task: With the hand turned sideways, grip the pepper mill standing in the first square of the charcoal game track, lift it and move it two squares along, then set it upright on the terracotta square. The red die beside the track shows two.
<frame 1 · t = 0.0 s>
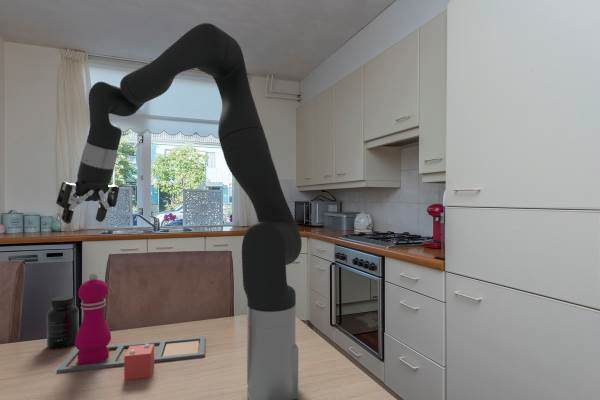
hand: (83, 221, 90), 31 cm above the table, tool tilted 20°, fingers open, 8 cm apart
pepper mill: (93, 359, 81), resting in game track
game track: (138, 353, 83), on the table
die: (139, 373, 74), on the table
supplement bottle: (63, 344, 89), on the table
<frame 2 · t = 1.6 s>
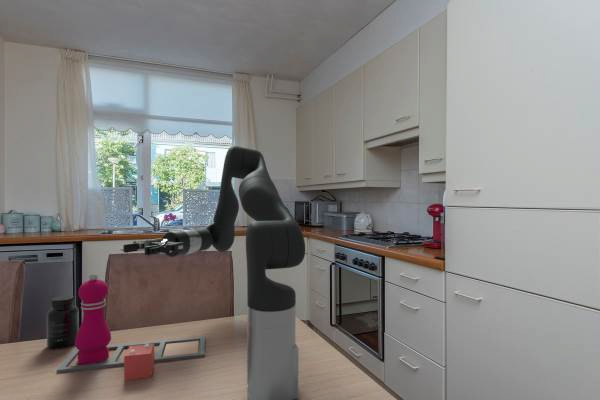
hand: (134, 249, 90), 24 cm above the table, tool horizontal, fingers open, 8 cm apart
nothing on the table moved.
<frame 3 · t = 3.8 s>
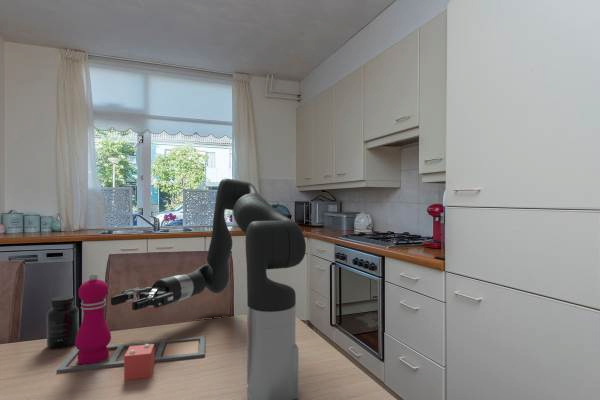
hand: (122, 303, 87), 11 cm above the table, tool horizontal, fingers open, 8 cm apart
nothing on the table moved.
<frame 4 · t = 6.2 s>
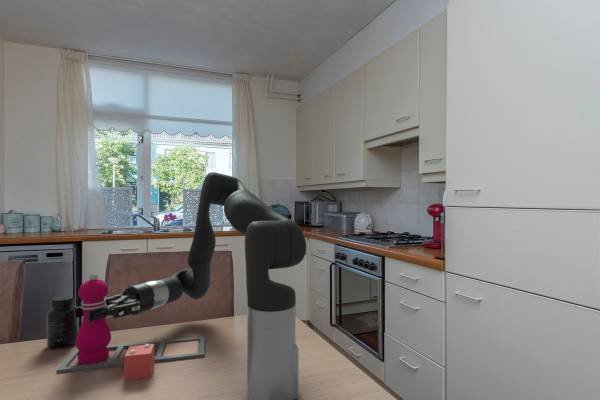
hand: (82, 314, 79), 11 cm above the table, tool horizontal, fingers closed on pepper mill, 4 cm apart
pepper mill: (93, 359, 81), resting in game track, touching gripper
everything else where it was.
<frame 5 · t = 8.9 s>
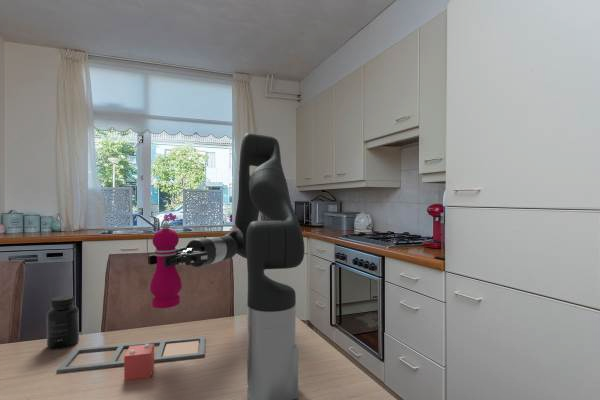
hand: (157, 261, 82), 23 cm above the table, tool horizontal, fingers closed on pepper mill, 4 cm apart
pepper mill: (166, 305, 85), point 11 cm above the table, touching gripper
everything else where it was.
when the fingers open (12 cm above the table, at t = 11.7 s): pepper mill moves 3 cm, resting on game track.
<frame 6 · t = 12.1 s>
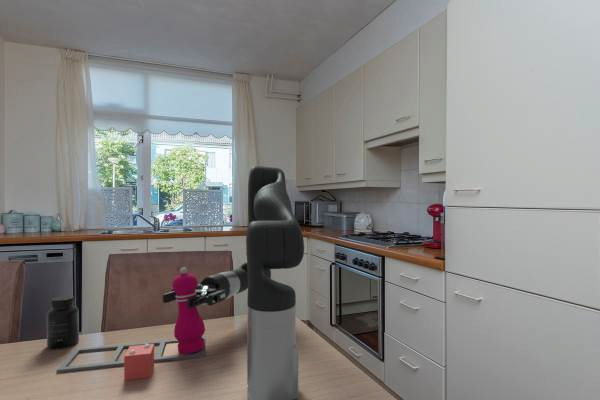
hand: (175, 301, 84), 12 cm above the table, tool horizontal, fingers open, 8 cm apart
pepper mill: (191, 349, 85), resting on game track, touching gripper
everything else where it was.
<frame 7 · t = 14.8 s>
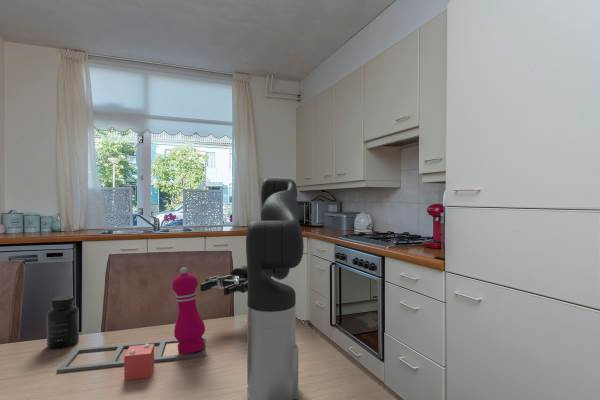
hand: (212, 289, 95), 12 cm above the table, tool horizontal, fingers open, 8 cm apart
pepper mill: (191, 349, 85), resting on game track
everything else where it was.
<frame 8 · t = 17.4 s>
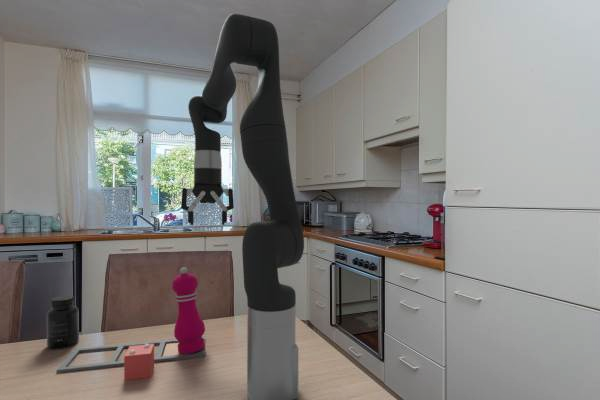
hand: (207, 224, 98), 30 cm above the table, tool pointing down, fingers open, 8 cm apart
nothing on the table moved.
at the end: pepper mill 3.1 cm from the target spot on the game track, point 0.4 cm above the game track's base; pepper mill tilted 7°; the gripper is holding nothing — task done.
